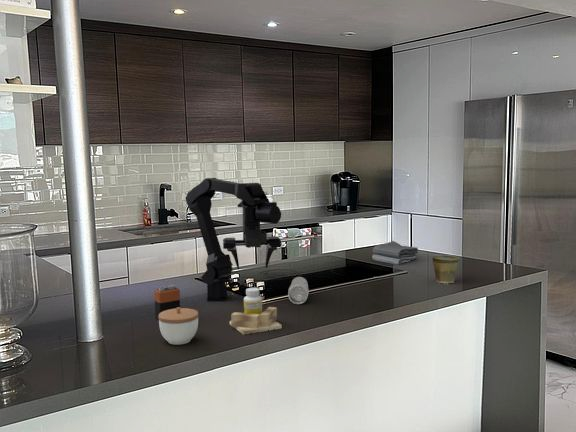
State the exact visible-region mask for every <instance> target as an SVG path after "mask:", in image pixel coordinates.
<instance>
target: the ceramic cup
mask: <svg viewBox="0 0 576 432" xmlns="http://www.w3.org/2000/svg"><path fill="white" fill-rule="evenodd" d="M459 261H460V257H459V256H457V255H450V254H435V255H433V256H432V264H433V269H434V275H435V282H436V283H437V282H438V283H437V284H440V283H444V284H443V285H449V284H448V283H453V284H454V283H455V279H456V273H457V269H458V267H459ZM445 283H447V284H445Z"/></svg>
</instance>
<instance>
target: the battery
mask: <svg viewBox="0 0 576 432" xmlns="http://www.w3.org/2000/svg"><path fill="white" fill-rule="evenodd" d="M180 292H181V290H180V288H178V287H176V285H175V284H170V285H167V287H164V286H160V287H159V288H157V289H154V314H155V315H154V317H155V318H156V319H157V320H159V318H158V315H159V314H160V313H161V312H163V311H165V310H169V309H176V308H177V307H180V308H181V297H180V295H181V293H180Z"/></svg>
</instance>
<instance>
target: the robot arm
mask: <svg viewBox="0 0 576 432" xmlns="http://www.w3.org/2000/svg"><path fill="white" fill-rule="evenodd" d="M216 192H220V193H224V194H227V195H228V194H229V195H232V196H235V198H237V199H238V200H240V202H239V203H238V204H237V205H236V206H237V207H238V208H242V239H236V237H224V238H223V240H222V246H223V247H222V248H223V249H224V250H227V252H230V253H231V254H232V256H233V258H234V262H235V265H236V269H237V270H239V269H240V263H239V258H238V257H239V256H238V250H237V249H238V248H237V247H238V246H239V247H240V246H241V247H242V246H245V248H248V249H250V248H260V247H261V246H266V251H265V260H264V261H265V262H264V263H265V265H264V267H265V269H268V266H269V262H270V259H271V256H272V254H273V252H274V251H277V250H278V248H282V241H281V237H279V236H267V233H268V232H267V231H266V230H264V231H261V224H262V223H263V224H274V225H276V224H278V223H279V222H280V221H281V219H282V212H281V209H280V207H279V206H278V202H277V201H271V202H270V200H269V198H268V196H267V194H266V193H265V191H264V190H263V186H262V184H261V183H259V182H244V183H243V182H241V183H240V182H235V181H229V180H225V179H219V178H217V177H206V178H204V179H203V180H202V181H201V182H200V183H199V184H198V185H195V186H194V187H193V188H192V189H191V190H189V191H188V192H187V193H186V196H185V202H186V206H187V207H188V210H189V211H190V212H191V213H192V214H193V215H194V216H195V217H196V220H197V224H198V227H199V231H200V234H201V237H202V240H203V244H204V246H205V250H206V253H207V259H206V263H205V264H206V265H205V266H206V271H205V272H204V273H203V274H202V276H201V280H202V283H204V284H206V290H207V291H206V292H207V294H206V301H207V302H216V301H226V299H227V298H228V284H227V283H226V281H230V277H231V274H232V272H233V263H232V260H231V256H230V254H229V253H227V254H225V252H223V250H222V249H221V245H220V242H219V238H218V235H217V231H216V228H215V225H214V221H213V217H212V215H211V208H212V199H213V197H215V194H216Z"/></svg>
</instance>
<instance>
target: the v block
mask: <svg viewBox="0 0 576 432" xmlns="http://www.w3.org/2000/svg"><path fill="white" fill-rule="evenodd" d="M230 318H231V320H229V325H230V326H231V327H232V328H234V329H235V330H237V331H238V332H239V333H241V335H243V336H245V334H246V335H251V334H250V333H252V334H256V333H257V332H258V333H263V332H268V330H269V331H275V330H279V329H282V328H283V327H282V326H283V325H282V324H281V323H280V322H278V321H276V320H277V319H278V308H277V307H275V306H269V307H267V308H266V309H265V310H264V311H262V313H261V314H249V313H244V312H236V311H235V312H232V313H231V315H230ZM274 329H275V330H274ZM258 333H257V334H258Z"/></svg>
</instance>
